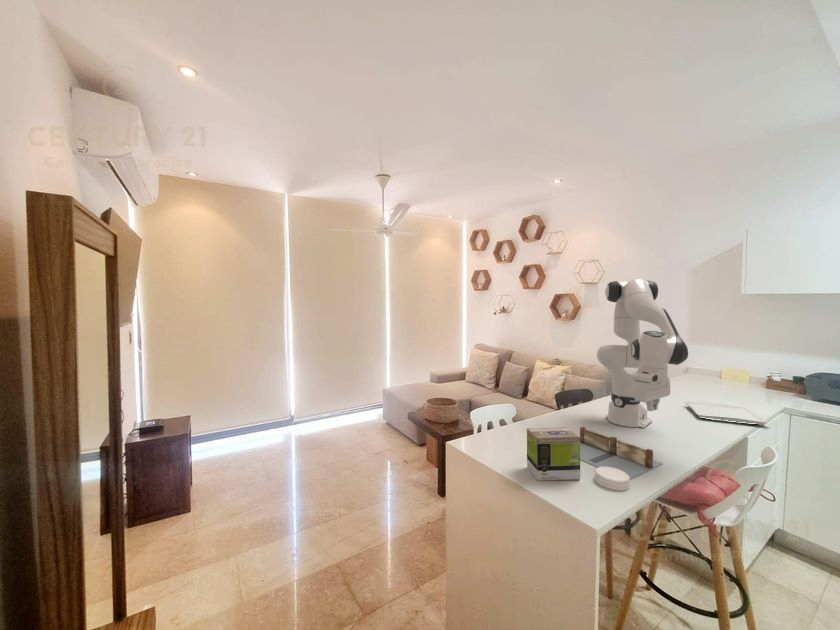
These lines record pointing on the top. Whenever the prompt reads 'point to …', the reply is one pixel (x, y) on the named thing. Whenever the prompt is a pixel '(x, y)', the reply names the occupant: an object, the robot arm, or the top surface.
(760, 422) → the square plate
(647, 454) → the panel
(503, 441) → the top surface
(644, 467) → the card
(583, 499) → the top surface
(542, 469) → the tea box
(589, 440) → the fence fixed panel
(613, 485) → the coaster
